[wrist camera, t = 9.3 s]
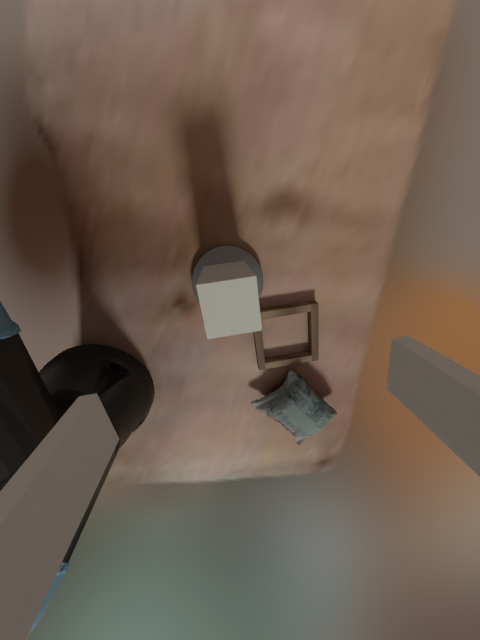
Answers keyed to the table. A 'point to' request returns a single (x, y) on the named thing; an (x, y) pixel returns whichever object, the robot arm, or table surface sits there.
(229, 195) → the table surface
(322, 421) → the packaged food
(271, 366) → the walnut holder
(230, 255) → the grey disc
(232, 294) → the grey block
